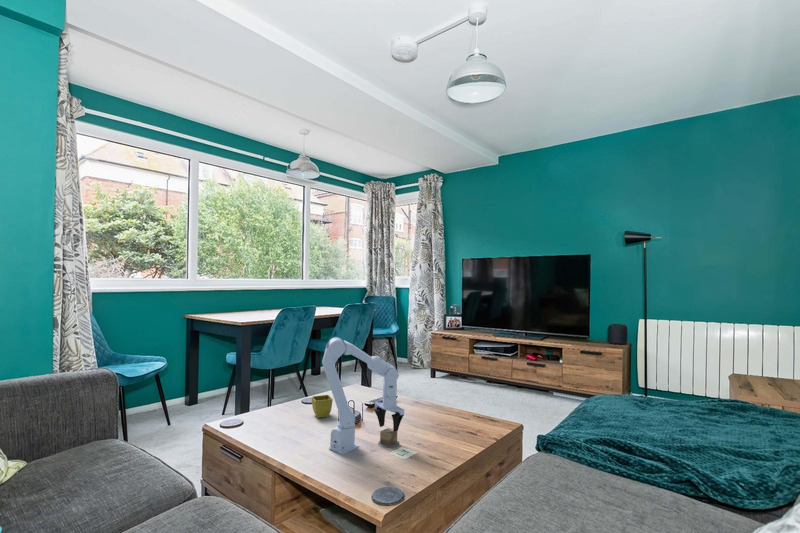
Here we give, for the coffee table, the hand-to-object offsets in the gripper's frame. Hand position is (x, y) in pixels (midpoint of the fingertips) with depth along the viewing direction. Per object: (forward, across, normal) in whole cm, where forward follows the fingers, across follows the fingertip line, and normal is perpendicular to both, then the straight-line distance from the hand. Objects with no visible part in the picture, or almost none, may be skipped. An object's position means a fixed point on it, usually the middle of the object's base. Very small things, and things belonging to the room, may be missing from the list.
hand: (388, 428), depth 165 cm
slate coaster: (+6, 0, 0) cm, 6 cm away
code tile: (+6, -10, +3) cm, 12 cm away
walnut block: (+6, 0, 0) cm, 6 cm away
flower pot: (+7, +47, -4) cm, 48 cm away
